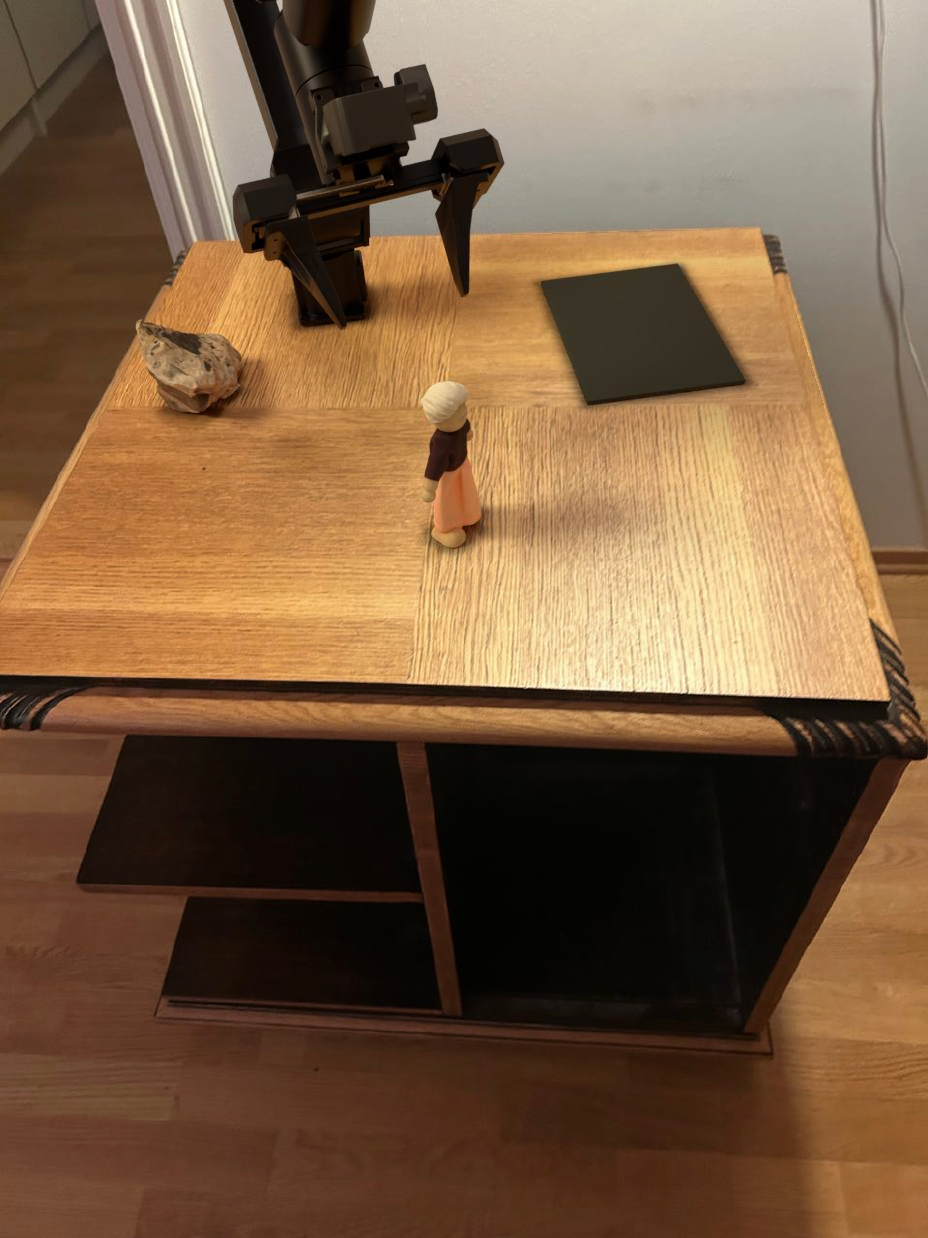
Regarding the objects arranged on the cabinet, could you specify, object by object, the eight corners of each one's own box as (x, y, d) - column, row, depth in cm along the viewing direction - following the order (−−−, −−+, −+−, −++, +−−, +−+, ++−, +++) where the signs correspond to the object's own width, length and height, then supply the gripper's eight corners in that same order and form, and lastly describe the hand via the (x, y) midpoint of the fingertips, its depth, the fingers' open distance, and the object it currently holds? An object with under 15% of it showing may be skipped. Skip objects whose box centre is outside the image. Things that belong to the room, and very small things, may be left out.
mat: (586, 404, 79) (587, 401, 79) (540, 284, 92) (540, 280, 92) (745, 383, 80) (745, 379, 79) (677, 266, 93) (677, 262, 92)
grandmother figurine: (471, 560, 68) (462, 421, 58) (421, 554, 69) (404, 416, 59) (490, 490, 73) (485, 352, 63) (443, 485, 73) (430, 348, 64)
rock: (148, 346, 86) (100, 337, 76) (209, 302, 85) (169, 287, 75) (203, 427, 87) (162, 429, 77) (264, 385, 86) (231, 381, 76)
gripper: (196, 50, 54) (283, 312, 55) (489, -8, 58) (562, 239, 59) (204, 139, 65) (277, 356, 66) (451, 85, 68) (513, 292, 70)
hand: (405, 311), depth 65 cm, fingers open, 9 cm apart
